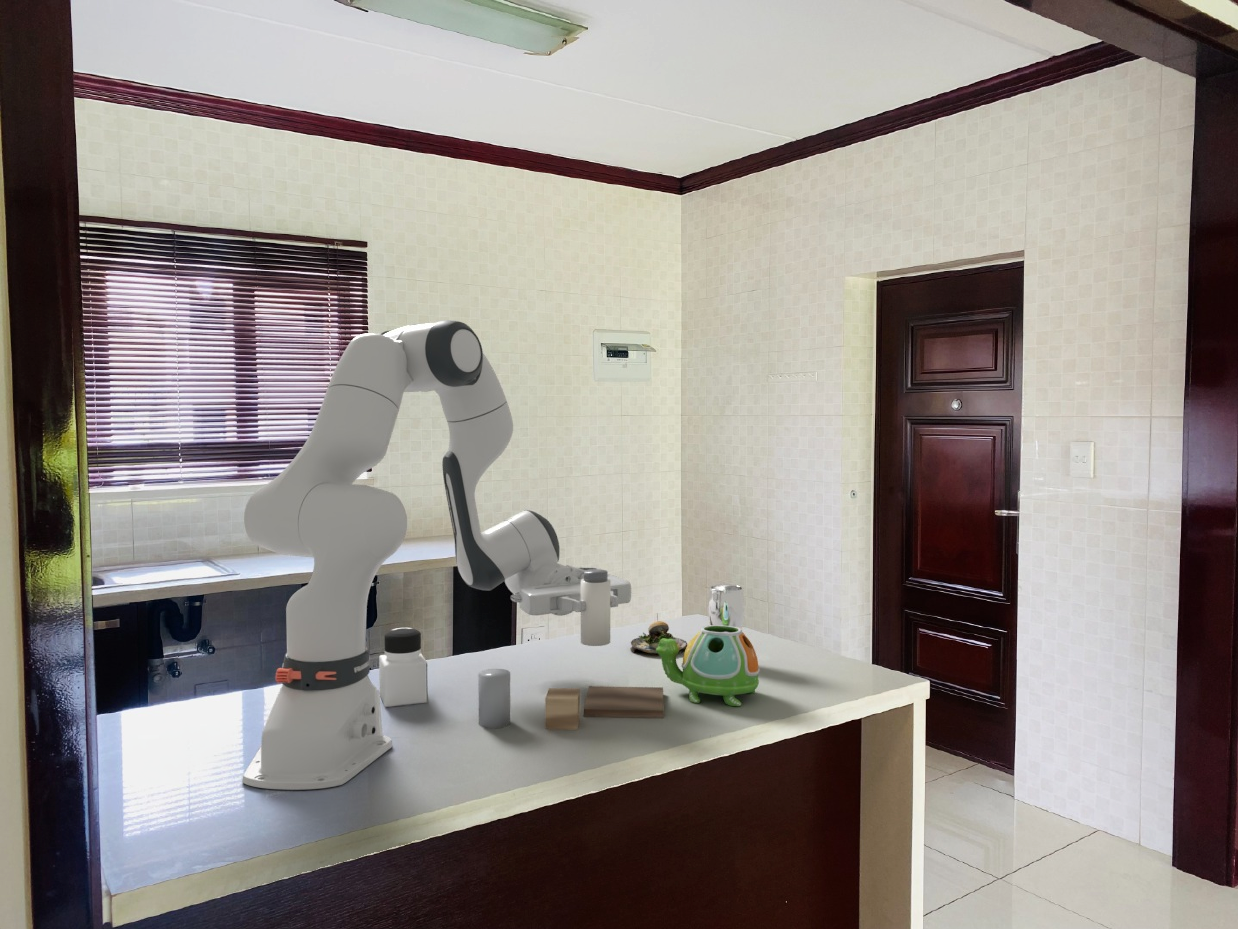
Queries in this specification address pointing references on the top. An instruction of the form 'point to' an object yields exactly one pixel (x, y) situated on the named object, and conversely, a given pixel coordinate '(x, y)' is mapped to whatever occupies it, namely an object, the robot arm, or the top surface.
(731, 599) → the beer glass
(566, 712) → the oak block
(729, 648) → the turtle holder
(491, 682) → the grey cylinder
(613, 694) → the walnut board
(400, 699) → the medicine bottle
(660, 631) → the burger
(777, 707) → the top surface
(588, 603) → the plastic bottle
